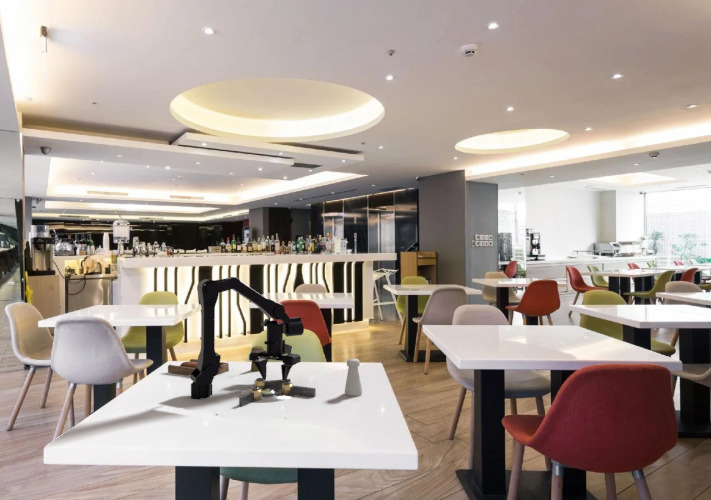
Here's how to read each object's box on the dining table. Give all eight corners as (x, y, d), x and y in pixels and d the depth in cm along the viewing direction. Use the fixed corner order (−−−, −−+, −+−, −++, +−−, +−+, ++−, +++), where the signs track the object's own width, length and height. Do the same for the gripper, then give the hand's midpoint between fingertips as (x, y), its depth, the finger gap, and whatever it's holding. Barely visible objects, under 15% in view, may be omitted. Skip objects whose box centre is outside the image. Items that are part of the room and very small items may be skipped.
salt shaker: (360, 401, 148) (360, 361, 149) (343, 400, 149) (342, 360, 150) (363, 396, 154) (363, 357, 154) (347, 395, 155) (346, 356, 155)
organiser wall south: (209, 377, 181) (209, 369, 181) (207, 377, 181) (207, 369, 181) (228, 371, 191) (228, 363, 191) (226, 370, 191) (226, 363, 191)
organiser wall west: (205, 377, 180) (205, 370, 180) (167, 372, 188) (167, 365, 188) (207, 377, 181) (207, 369, 181) (170, 372, 190) (170, 364, 190)
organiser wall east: (226, 370, 191) (226, 363, 191) (190, 366, 200) (190, 359, 200) (228, 370, 192) (228, 362, 192) (192, 365, 201) (192, 358, 201)
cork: (267, 371, 189) (267, 345, 189) (262, 375, 183) (262, 347, 183) (253, 371, 190) (252, 344, 190) (248, 375, 184) (248, 347, 184)
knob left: (254, 391, 156) (254, 380, 156) (254, 388, 159) (254, 377, 159) (290, 388, 159) (290, 377, 159) (289, 385, 163) (289, 375, 163)
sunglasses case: (226, 370, 192) (220, 358, 189) (216, 382, 186) (210, 370, 183) (193, 366, 199) (187, 354, 196) (182, 378, 194) (176, 366, 191)
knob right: (279, 393, 153) (279, 383, 153) (285, 390, 156) (285, 380, 156) (311, 398, 147) (311, 387, 147) (317, 395, 151) (317, 384, 151)
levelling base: (266, 415, 136) (266, 398, 136) (216, 407, 144) (216, 390, 144) (307, 393, 157) (306, 378, 158) (261, 387, 165) (261, 373, 166)
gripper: (308, 336, 168) (308, 378, 168) (266, 332, 176) (266, 373, 175) (292, 341, 158) (291, 386, 158) (248, 337, 166) (247, 380, 165)
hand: (274, 381), depth 164 cm, fingers open, 8 cm apart
